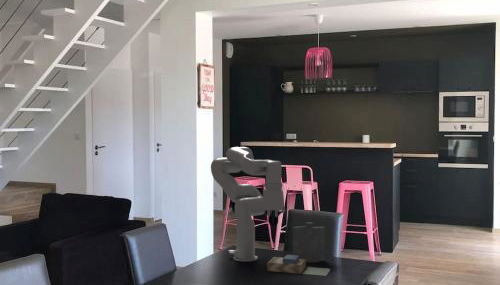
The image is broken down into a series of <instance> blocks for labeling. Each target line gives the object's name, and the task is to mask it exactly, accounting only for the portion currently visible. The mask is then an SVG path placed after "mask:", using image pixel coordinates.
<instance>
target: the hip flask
mask: <svg viewBox="0 0 500 285" xmlns="http://www.w3.org/2000/svg"><path fill="white" fill-rule="evenodd" d="M313 225H314V222H311V221H310V222H309V221H308V222H305V225H299V226H293V238H292V239H293V244H292V249H293V251H292V252H293V254H292V255H299V259H306V263H320V262H319V261H324V262H325V243H326V242H325V234H326V233H325V230H326V228H325V226H313Z"/></svg>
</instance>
